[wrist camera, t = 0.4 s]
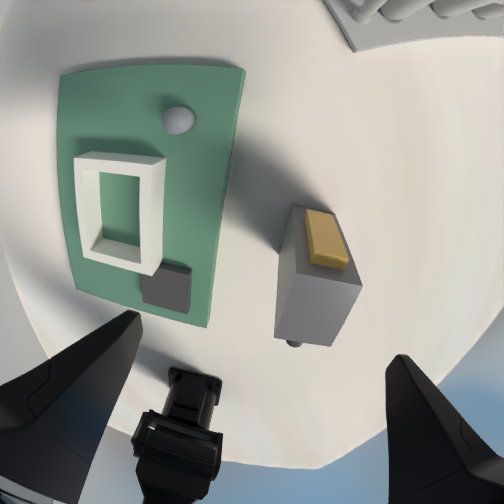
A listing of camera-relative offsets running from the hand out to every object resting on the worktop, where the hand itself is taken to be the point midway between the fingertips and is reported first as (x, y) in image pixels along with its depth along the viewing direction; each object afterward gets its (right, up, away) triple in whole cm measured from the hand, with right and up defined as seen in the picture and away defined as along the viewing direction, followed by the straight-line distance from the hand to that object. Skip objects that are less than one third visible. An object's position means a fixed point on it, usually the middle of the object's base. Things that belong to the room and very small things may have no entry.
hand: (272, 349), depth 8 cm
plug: (+3, +4, +10) cm, 12 cm away
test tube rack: (+16, +21, -1) cm, 26 cm away
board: (-10, +7, +10) cm, 16 cm away
